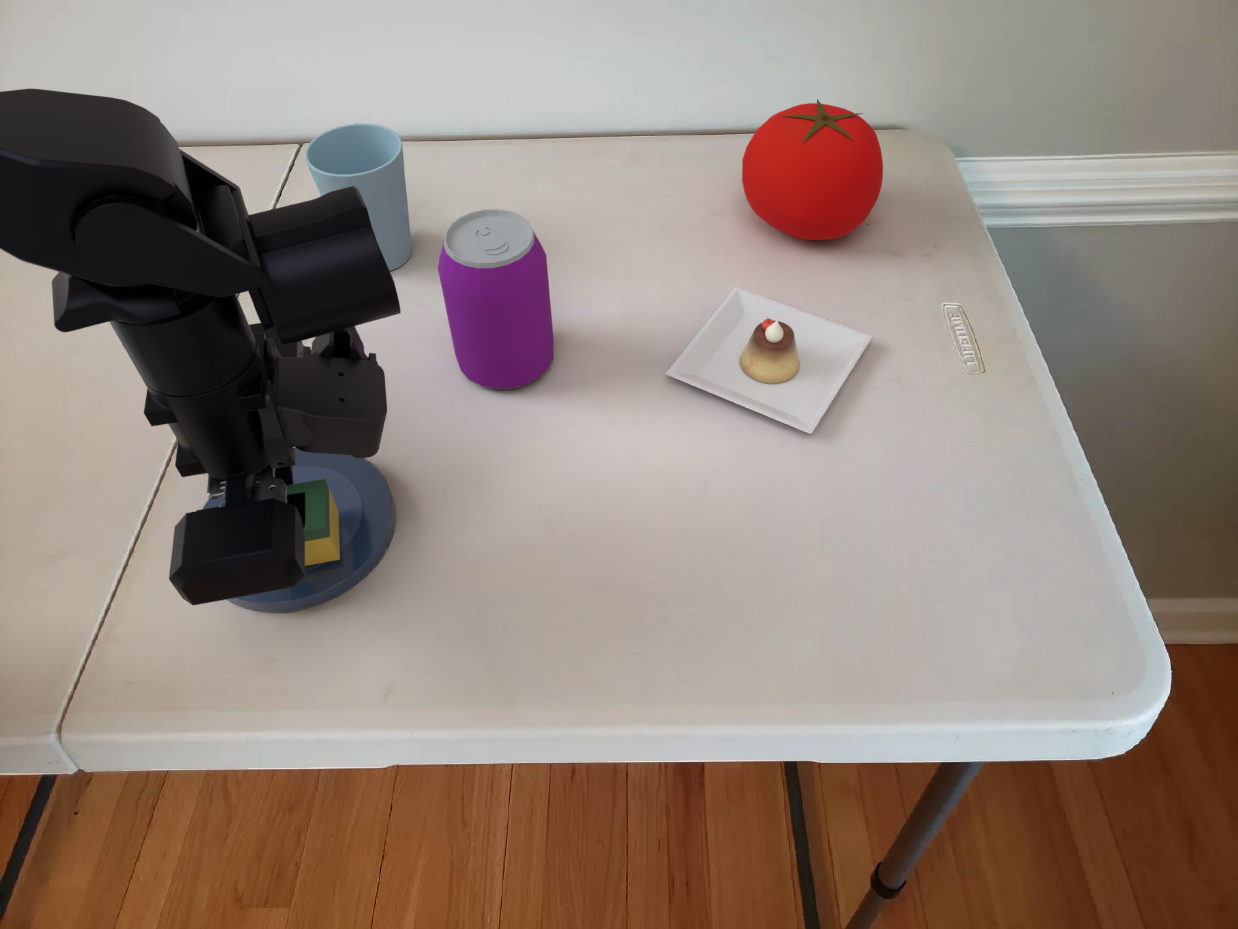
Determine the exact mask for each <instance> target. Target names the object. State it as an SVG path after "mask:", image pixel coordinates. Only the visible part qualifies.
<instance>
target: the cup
mask: <svg viewBox="0 0 1238 929" xmlns="http://www.w3.org/2000/svg"><path fill="white" fill-rule="evenodd" d="M403 148H404V146H403V141H402V138H401V137H400V135H399V134H398V133H397V132H396V131H394V130H393V129H391V128H389V127H386V126H384V125H380V124H375V123H366V122H365V123H363V122H361V123H350V124H343V125H339V126H336V127H332V128H329V129H328V130H326V131H324V132H322V133H320V134H318V135H316V137H314V138H313V139H312V140H311V141H310V142H309V143H308V144H307V146H306V148H305V151H304V160H305V161H304V162H305V163H306V166H307V167H308V170H309V173H310V175H311V177H312V180H313V181H314V183H315V185H316V187H317V190H318V192H319V195H320V196H322V195H324V194H326V193H328V192H331V191H335V190H339V189H343V188H347V187H351V186H354V187H356V188H358V189H359V191H360V194H361V196H362V198H363V201H364V203H365V205H366V207H367V210H368V214H369V218H370V222H371V225H372V228H373V231H374V234H375V237H376V239H377V242H378V245H379V247H380V250H381V252H382V254H383V257H384V259H385V261H386V264H387V266H388V268H389V271H390V272H392V271H395V270H397V269H399V268H401V267H402V266H404V264H406V263H407V262H408V261H409V260H410V257H411V255H412V251H413V249H412V237H411V226H410V216H409V206H408V205H409V202H408V194H407V182H406V173H405V172H406V171H405V159H404V149H403Z"/></svg>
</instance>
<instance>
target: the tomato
mask: <svg viewBox="0 0 1238 929" xmlns="http://www.w3.org/2000/svg"><path fill="white" fill-rule="evenodd" d="M863 114H864V112H860V113H859V112H857V113H856V112H853V111H852V110H849V109H846V108H844V107H841V106H836V105H832V104H826V103H821V101H820V100H819V98H816V103H815V102H807V103H800V104H797V105H794V106H791V107H788V108H786V109H783V110H781V111H778V112H777V113H775V114H773V115H771V116H770V117H769V118H768V119H767V120H766V121H765V122H764V123H762V125H760V126H759V127H758V128H756V130H755V132H754V134H753V135H752V137H751V138H750V140H749V142H748V144H747V145H746V147H745V150H744V154H743V156H742V160H741V161H742V162H741V163H742V164H741V165H742V166H741V168H742V169H741V183H742V187H743V193H744V195H745V198H746V201H747V202H748V204H749V206H750V208H751V210H752V211H753V212H754V213H755V214H756V216H758V217H759V218H760V219H762V221H764V222H765V223H766V224H768V225H769V226H770V227H772V228H774V229H775V230H777V231H779V232H781V233H783V234H785V235H788V236H790V237H792V238H793V237H794V238H796V239H800V240H806V241H807V240H808V241H825V240H833V239H834V240H835V239H837V238H842V237H844V236H846V235H848V234H850V233H851V232H853V231H854V230H856V229H857V228H858V227H859V226H861V225H862V224H863V223H864V222H865V221H866V219H867V218H868V216H869V215H870V214H871V212H872V210H873V209H874V207H875V205H876V203H877V201H878V199H879V197H880V194H881V190H882V186H883V178H884V160H883V153H882V148H881V145H880V142H879V138H878V136H877V133H876V130H875V129H874V128H873V126H871V125H870V124H869V123H868V122H867V121H866V120H865V119H864V118H863V117H861V116H860V115H863Z"/></svg>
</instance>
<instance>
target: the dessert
mask: <svg viewBox="0 0 1238 929" xmlns="http://www.w3.org/2000/svg"><path fill="white" fill-rule="evenodd" d="M872 338H873V335H872V334H868V333H866V332H863V331H861V330H857V329H855V328H852V327H850V326H847V325H844V324H840V323H838V322H835V321H833V320H830V319H827V318H824V317H822V316H819V315H816V314H813V313H811V312H808V311H806V310H803V309H800V308H797V307H795V306H792V305H789V304H786V303H784V302H781V301H779V300H775V299H773V298H770V297H767V296H764V295H762V294H759V293H756V292H753V291H751V290H748V289H745V288H742V287H741V286H735V287H734V288H733V289H732V290H731V291H730V293H729V294H728V295H727V297H726V298H725V299H724V300H723V301H722V303H721V304H720V305H719V306H718V308H717V309H716V310H715V312H713V314H712V315H711V316H710V318H709V319H708V320H707V321H706V323H705V324H704V325H703V326H702V327H701V329H700V330H699V331H698V332H697V333H696V335H695V336H694V337H693V339H692V340H691V341H690V342H689V343H688V345H687V346H686V348H685V349H684V350H683V351H682V352H681V354H679V356H678V357H677V358H676V360H675V361H674V362H673V363H672V365H671V366H670V367H669V368H668V370H667V371H666V372H665V375H667V376H669V377H671V378H674V379H676V380H678V381H681V382H683V383H685V384H688V385H691V386H693V387H695V388H698V389H700V390H702V391H705V392H707V393H710V394H711V395H715V396H717V397H720V398H722V399H724V400H727V401H728V402H731V403H734V404H736V405H738V406H742V407H743V408H745V409H748V410H751V411H753V412H756V413H758V414H760V415H763V416H765V417H768V418H770V419H773V420H776V421H777V422H780V423H783V424H785V425H787V426H789V427H792V428H795V429H797V430H799V431H801V432H804V433H806V434H813V432H814V431H815V429H816V428H817V426H818V424H819V423H820V421H821V420H822V418H823V417H824V415H825V413H826V411H827V410H828V409H829V407H830V405H831V404H832V402H833V400H834V399H835V398H836V396H837V394H838V393H839V391H840V390H841V388H842V386H843V385H844V383H845V382H846V380H847V379H848V377H849V375H850V373H851V372H852V370H853V369H854V367H855V366H856V364H857V362H858V361H859V359H861V356H862V354H863V353H864V351H865V350H866V348H867V347H868V345H869V343H870V342H871V340H872Z"/></svg>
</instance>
